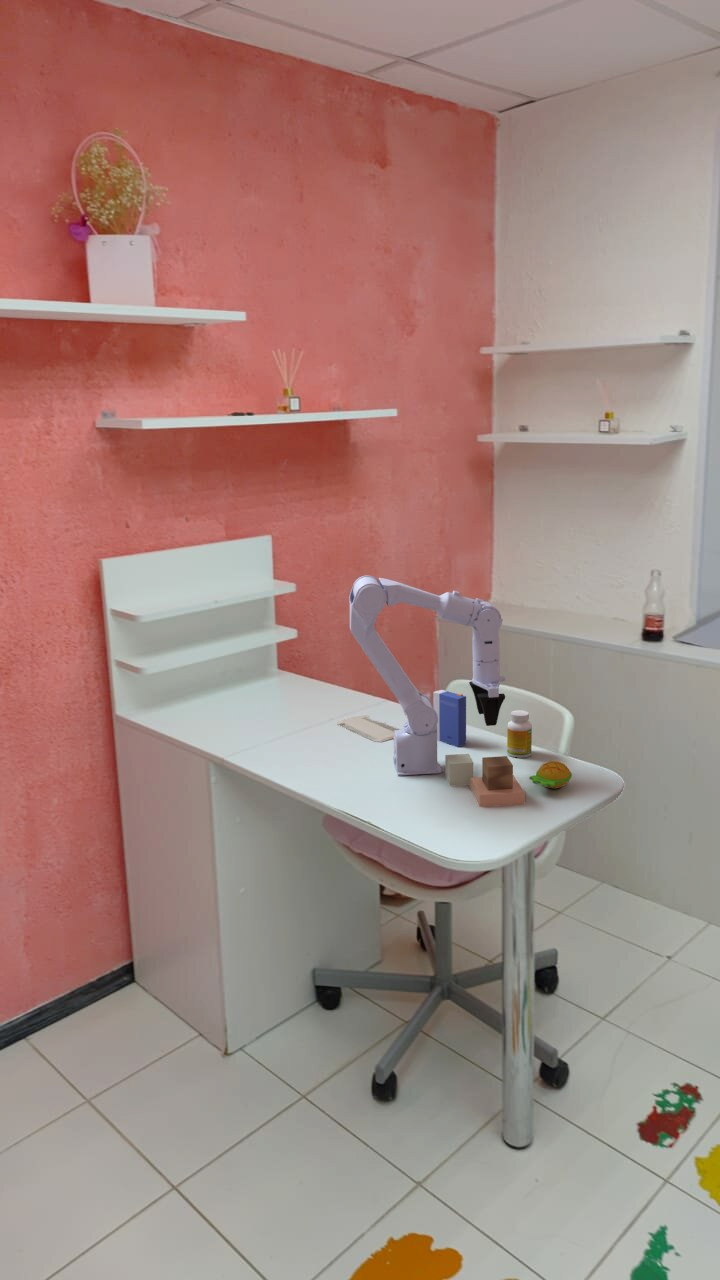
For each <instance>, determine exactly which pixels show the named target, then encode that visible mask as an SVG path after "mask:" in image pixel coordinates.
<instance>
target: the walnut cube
mask: <svg viewBox="0 0 720 1280" xmlns="http://www.w3.org/2000/svg"><path fill="white" fill-rule="evenodd" d="M481 763H482V764H481V765H482V766H481V767H482V768H481V772H482V773H481V774H482V775H481V777H482V781H483V783H484V785H485V786H486V788H487V790H502V789H513V775H514V764H513V763H512V762H511V760H510V759H509V757H508V756H507V755H503V756H487V757H482V759H481Z"/></svg>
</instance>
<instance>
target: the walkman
mask: <svg viewBox="0 0 720 1280" xmlns="http://www.w3.org/2000/svg"><path fill="white" fill-rule="evenodd" d="M432 698H433V704H432V707H433V709H434V710H435V711H436V713H437V716H438V723H437V725H436V726H437V742H442V743H445V744H447V745H451V746H453V745H454V746H453V747H456V748H457V747H458V748H459V747H462V746H465V745H467V696H466V695H463V693H460V692H458V693H455V692H452V691H448V690H444V689H439V690H435V691H433V696H432Z"/></svg>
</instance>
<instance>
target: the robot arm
mask: <svg viewBox="0 0 720 1280" xmlns="http://www.w3.org/2000/svg"><path fill="white" fill-rule="evenodd" d="M349 593H350V594H349V595H348V596H349V597H348V598H349V599H348V600H349V601H348V602H349V630H350V633H351V635H352V637H354V639H355V641H356V642H357V644H358V645H359V646H360V648H361V649H362V651H363V652H364V653H365V656H367V658H368V659H369V661H370V662H371V664H372V665H373V666H374V668H375V669H376V671H377V672H378V674H379V675H380V677H381V678H382V680H384V682H385V683H386V685H387V686H388V688H389V689H390V691H391V693H393V695H394V696H395V698H396V700H397V701H398V703H399V705H400V706H401V708H402V709H403V713H404V715H405V717H406V719H407V720H406V721H405V723H404V725H403V728H400V729H401V730H395V731H394V739H393V758H392V759H393V765H394V768H395V771H396V773H397V776H411V775H412V776H414V775H430V774H431V775H432V774H442V769H441V768H442V767H440V764H439V761H438V741H437V726H436V725H437V723H438V716H437V713H436V711H435V710H434V709H433V708H434V707H433V704H432V701H431V699H430V698H429V697H428V696H427V695H425V694H423V693H422V692H420V691H419V689H418V688H417V686H415V684H414V683H413V682H412V681H411V679H410V678H409V676H408V675H407V673H406V671H405V670H404V669H403V668H402V666H401V665H400V663H399V661H397V659H396V657H395V656H394V655H393V653H392V651H391V650H390V649H389V647H388V646H387V644H386V643H385V641H384V640H383V639H382V637H381V635H380V634H379V633H378V631H377V630H376V629H375V625H376V622H377V620H378V619H377V617H378V616H379V614H380V613H381V611H382V610H383V609H384V606H386V605H387V607H388V608H389V607H392V606H394V605H397V604H399V603H403V604H406V605H407V604H408V605H411V606H415V607H419V608H423V609H428V610H431V611H435V612H436V614H437V616H438V617H439V619H442V620H445V621H449V622H452V623H456V624H459V625H462V626H466V627H470V626H472V638H471V641H472V642H471V644H472V645H471V646H472V647H471V649H472V678H471V679H472V680H471V681H469V682H468V684H469V686H470V688H471V690H472V693H473V696H474V699H475V703H476V709H477V712H478V714H479V715H483V718H484V719H483V720H484V723H485V725H486V726H487V727H492V726H497V725H498V724H497V723H498V719H499V715H500V710H501V708H502V705H503V703H504V700H506V694H505V693H499V692H500V691H499V687H500V685H501V683H502V682H506V677H505V676H504V675H501V666H500V665H501V663H500V657H501V655H500V653H501V652H500V649H501V648H500V635H499V634H500V630H499V629H500V628H501V627H502V624H503V618H502V615H501V613H500V610H499V609H498V608H496V606H494V605H493V604H492V603H491V602H489V601H486V600H485V599H481V598H477V597H476V598H475V599H473V598H470V597H468V596H467V597H466V596H463V595H461V593H460V592H459V591H456V590H452V592H448V591H446V592H445V593H443V594H441V595H437V594H435V593H433V592H432V593H431V592H429V591H425V590H422V589H420V588H417V587H414V586H410V585H407V584H405V583H402V582H399V581H395V580H391V579H387V578H385V577H384V578H383V577H378V579H377V578H376V577H375V576H372V575H363V576H360V577H358V578H357V579H355V580H354V582H353V585H352V587H351V590H350V592H349Z"/></svg>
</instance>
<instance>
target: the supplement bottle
mask: <svg viewBox="0 0 720 1280" xmlns="http://www.w3.org/2000/svg"><path fill="white" fill-rule="evenodd" d="M529 715H530V713H529V712H528V711H526V710H522V709H521V710H519V709H518V710H512V711H511V712H510V721H508V723H507V726H506V728H507V729H506V730H507V731H506V733H507V734H506V735H507V736H506V747H507V748H506V753H507V755H508V756H509V757H512V758H515V757H517V759H523V758H527V757H528V758H529V757H530V756H531V755H532V740H533V738H532V734H533V725H532V723H531V721H529V719H530V716H529Z"/></svg>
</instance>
